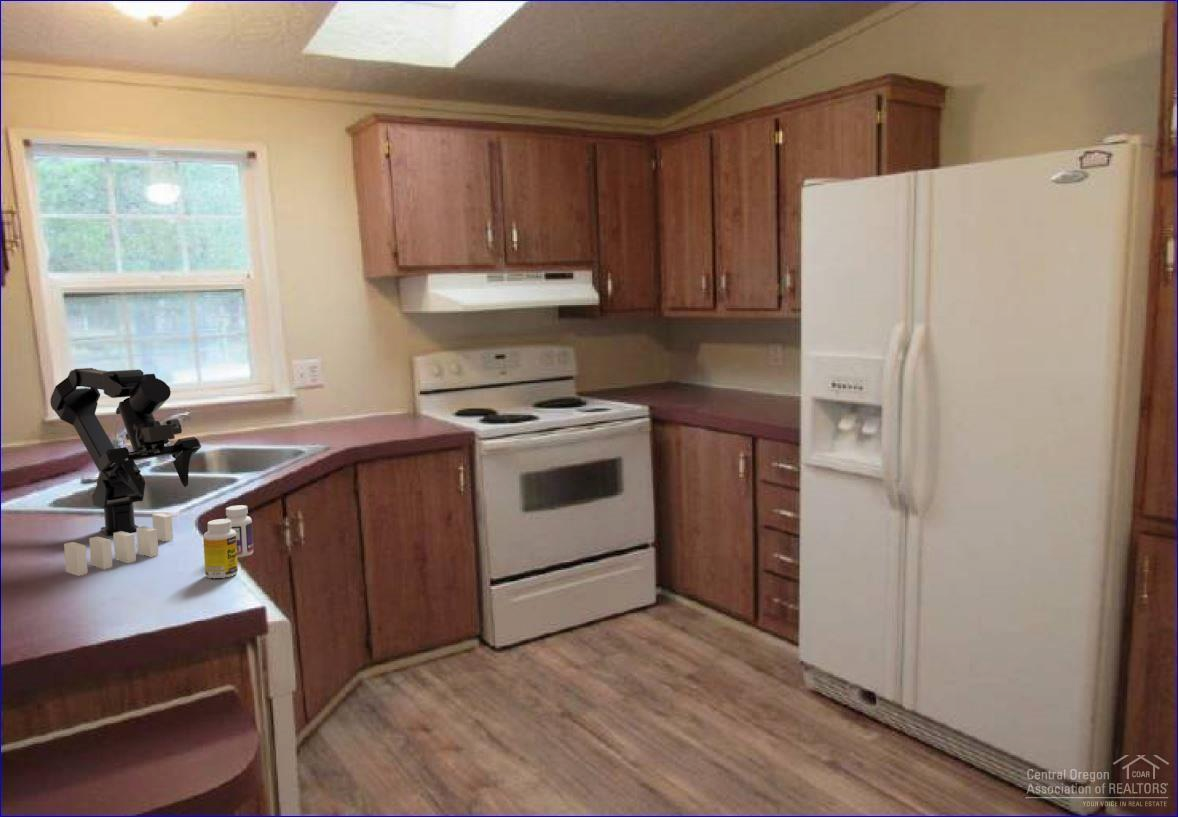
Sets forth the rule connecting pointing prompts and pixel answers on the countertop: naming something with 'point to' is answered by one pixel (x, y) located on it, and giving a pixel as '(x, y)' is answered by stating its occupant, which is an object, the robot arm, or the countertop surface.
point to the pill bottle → (241, 529)
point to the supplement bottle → (220, 549)
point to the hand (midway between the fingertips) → (164, 490)
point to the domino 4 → (147, 541)
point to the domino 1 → (75, 558)
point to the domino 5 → (163, 526)
